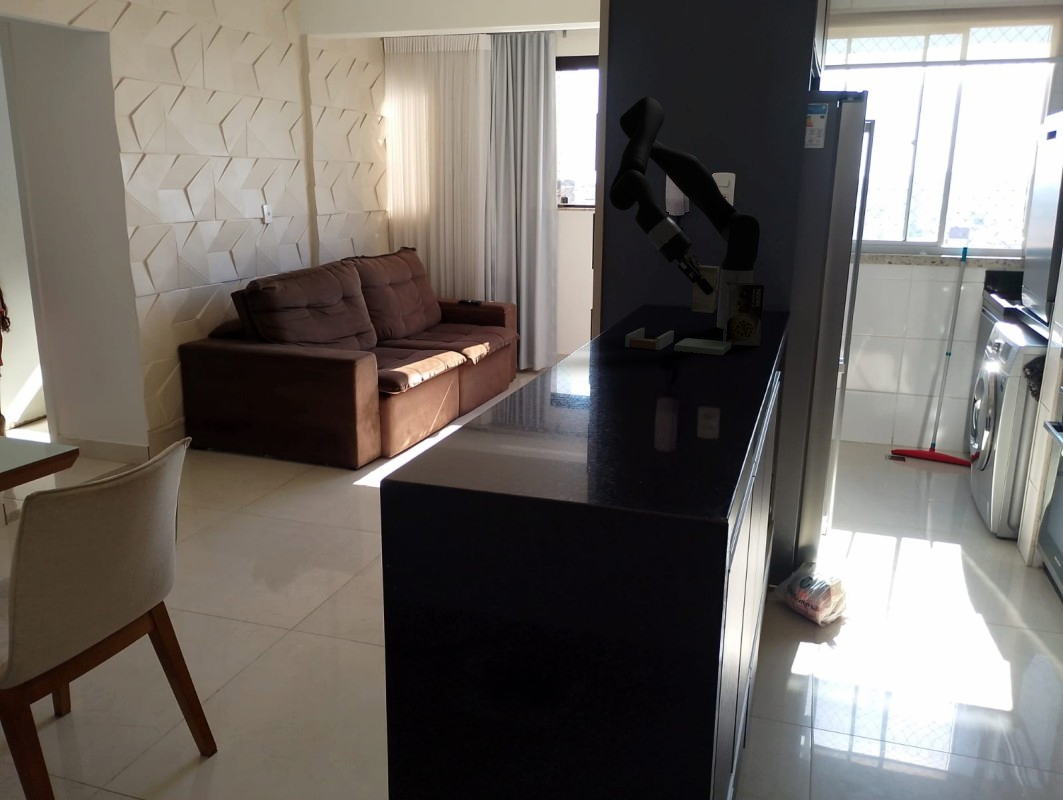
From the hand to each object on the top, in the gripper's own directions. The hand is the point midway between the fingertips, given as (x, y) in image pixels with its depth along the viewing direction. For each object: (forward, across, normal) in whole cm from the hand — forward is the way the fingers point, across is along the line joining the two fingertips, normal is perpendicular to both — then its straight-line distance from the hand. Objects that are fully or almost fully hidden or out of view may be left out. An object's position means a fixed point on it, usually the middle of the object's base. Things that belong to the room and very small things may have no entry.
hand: (712, 291), depth 215 cm
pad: (+10, 0, -11) cm, 15 cm away
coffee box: (+15, -14, -6) cm, 21 cm away
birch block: (+2, 0, -5) cm, 5 cm away
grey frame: (0, 0, -21) cm, 21 cm away
